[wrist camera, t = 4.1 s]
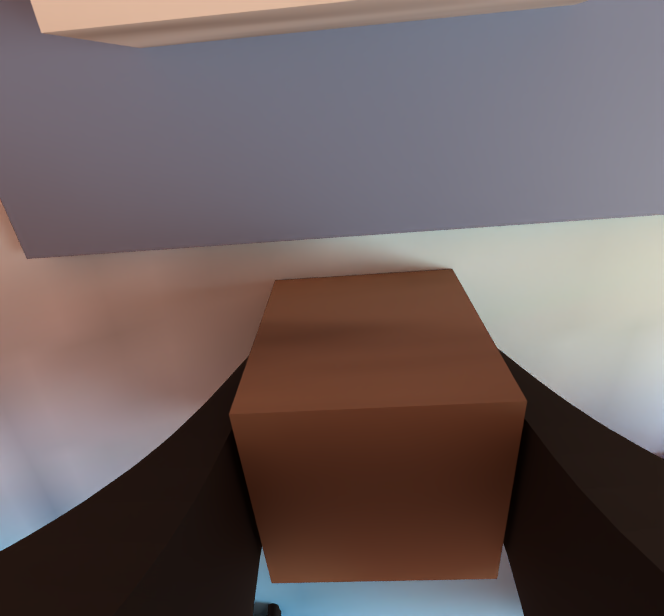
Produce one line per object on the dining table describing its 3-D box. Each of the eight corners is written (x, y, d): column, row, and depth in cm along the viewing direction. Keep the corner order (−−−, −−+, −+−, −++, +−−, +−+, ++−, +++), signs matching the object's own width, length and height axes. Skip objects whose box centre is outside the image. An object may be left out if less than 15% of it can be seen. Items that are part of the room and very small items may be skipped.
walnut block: (444, 407, 13) (496, 578, 8) (296, 413, 13) (271, 583, 9) (452, 269, 11) (527, 401, 6) (275, 280, 11) (229, 414, 7)
